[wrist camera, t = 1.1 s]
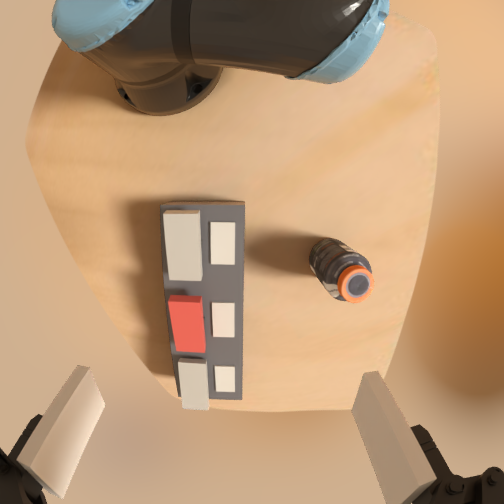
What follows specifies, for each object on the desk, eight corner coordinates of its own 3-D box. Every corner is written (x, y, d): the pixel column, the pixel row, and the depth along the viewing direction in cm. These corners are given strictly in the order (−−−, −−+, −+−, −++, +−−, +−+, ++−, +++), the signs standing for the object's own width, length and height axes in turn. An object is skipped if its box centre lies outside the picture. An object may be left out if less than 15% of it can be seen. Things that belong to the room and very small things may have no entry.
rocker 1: (166, 210, 30) (163, 214, 29) (199, 210, 30) (197, 213, 29) (171, 274, 33) (169, 280, 32) (202, 275, 34) (201, 281, 32)
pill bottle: (312, 282, 40) (336, 318, 29) (304, 243, 39) (327, 268, 28) (350, 271, 40) (384, 302, 29) (344, 232, 38) (379, 253, 27)
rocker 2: (179, 357, 36) (177, 362, 35) (206, 359, 37) (205, 363, 35) (184, 403, 37) (182, 408, 36) (209, 405, 37) (208, 410, 36)
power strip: (170, 201, 37) (157, 205, 31) (244, 201, 37) (245, 205, 31) (183, 377, 44) (177, 400, 38) (242, 380, 44) (242, 403, 38)
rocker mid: (170, 294, 33) (168, 301, 31) (201, 296, 33) (200, 302, 31) (178, 344, 36) (176, 351, 35) (205, 345, 36) (204, 352, 35)
